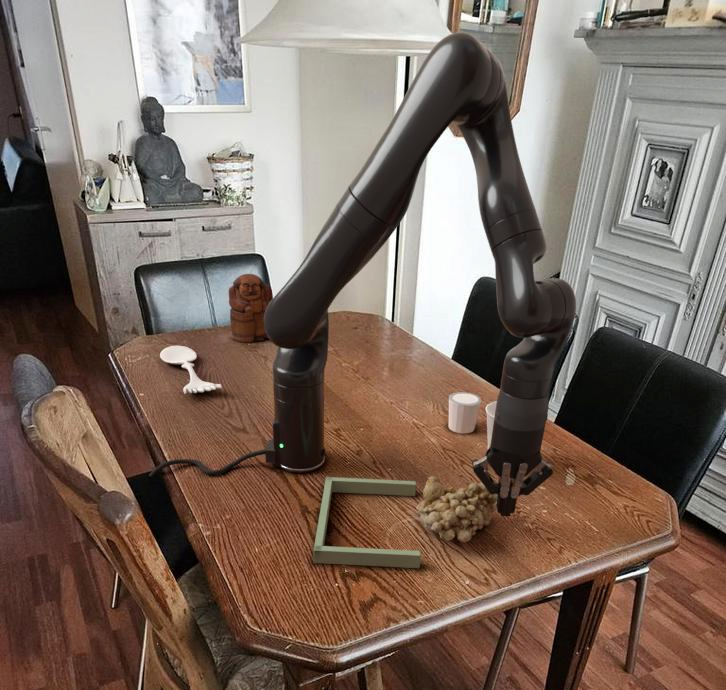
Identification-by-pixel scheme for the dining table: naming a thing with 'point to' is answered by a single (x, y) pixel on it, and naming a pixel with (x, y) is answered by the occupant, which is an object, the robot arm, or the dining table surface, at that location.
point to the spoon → (185, 356)
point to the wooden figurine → (249, 307)
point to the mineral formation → (456, 509)
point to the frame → (362, 554)
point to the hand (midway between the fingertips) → (504, 513)
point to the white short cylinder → (463, 412)
